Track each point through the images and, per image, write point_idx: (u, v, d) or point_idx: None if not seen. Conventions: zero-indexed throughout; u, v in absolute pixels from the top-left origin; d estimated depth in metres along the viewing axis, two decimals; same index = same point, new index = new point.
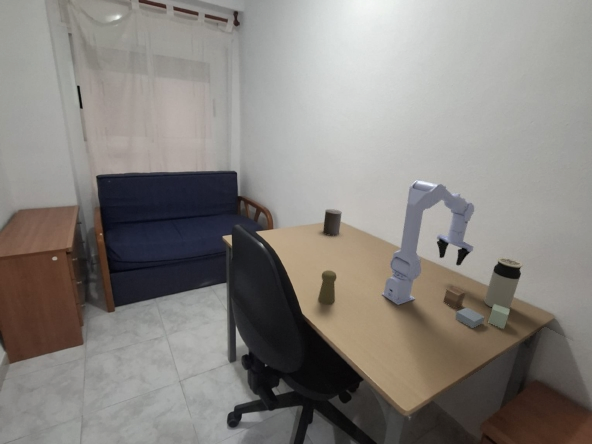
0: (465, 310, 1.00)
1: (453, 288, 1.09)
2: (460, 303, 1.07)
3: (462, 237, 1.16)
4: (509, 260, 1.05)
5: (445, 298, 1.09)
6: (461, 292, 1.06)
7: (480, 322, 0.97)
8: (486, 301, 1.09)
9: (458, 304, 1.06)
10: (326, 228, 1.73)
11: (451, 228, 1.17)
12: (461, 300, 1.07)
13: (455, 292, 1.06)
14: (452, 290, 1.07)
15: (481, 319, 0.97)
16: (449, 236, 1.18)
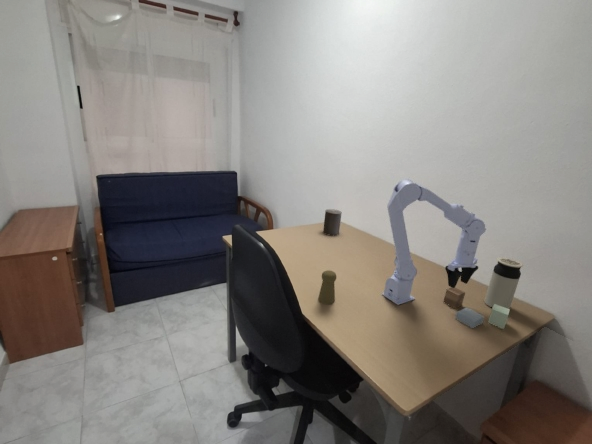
0: (465, 310, 1.00)
1: (453, 288, 1.09)
2: (460, 303, 1.07)
3: (460, 256, 1.02)
4: (509, 260, 1.05)
5: (445, 298, 1.09)
6: (461, 292, 1.06)
7: (480, 322, 0.97)
8: (486, 301, 1.09)
9: (458, 304, 1.06)
10: (326, 228, 1.73)
11: (458, 246, 1.03)
12: (461, 300, 1.07)
13: (455, 292, 1.06)
14: (452, 290, 1.07)
15: (481, 319, 0.97)
16: None
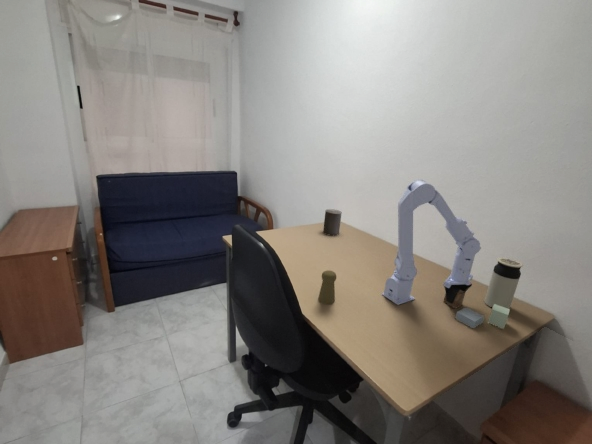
0: (465, 310, 1.00)
1: None
2: (460, 303, 1.07)
3: (455, 273, 1.04)
4: (509, 260, 1.05)
5: (445, 298, 1.09)
6: (461, 292, 1.06)
7: (480, 322, 0.97)
8: (486, 301, 1.09)
9: (458, 304, 1.06)
10: (326, 228, 1.73)
11: None
12: (461, 300, 1.07)
13: None
14: None
15: (481, 319, 0.97)
16: None
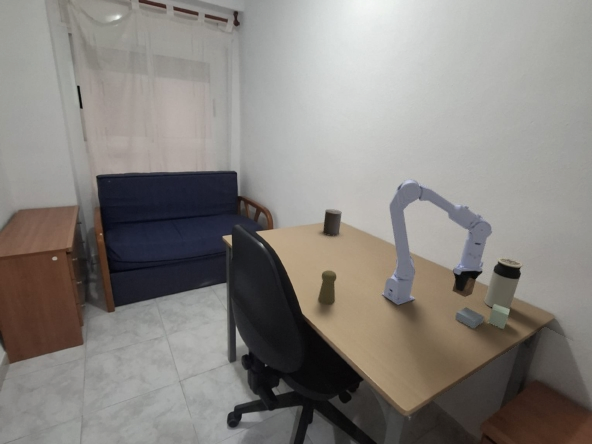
0: (465, 310, 1.00)
1: None
2: (470, 291, 1.02)
3: (466, 259, 0.98)
4: (509, 260, 1.05)
5: (454, 286, 1.03)
6: (471, 280, 1.01)
7: (480, 322, 0.97)
8: (486, 301, 1.09)
9: (468, 292, 1.01)
10: (326, 228, 1.73)
11: None
12: (471, 288, 1.01)
13: None
14: None
15: (481, 319, 0.97)
16: None
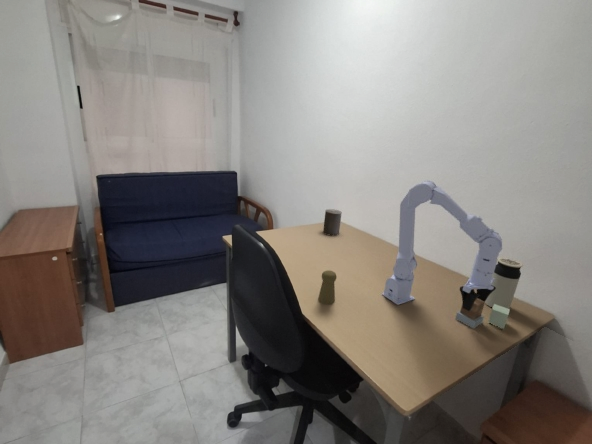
0: None
1: None
2: (479, 314, 0.96)
3: (476, 276, 0.93)
4: (509, 260, 1.05)
5: (462, 308, 0.98)
6: (480, 301, 0.96)
7: (480, 322, 0.97)
8: (486, 301, 1.09)
9: (477, 315, 0.96)
10: (326, 228, 1.73)
11: None
12: (480, 310, 0.96)
13: None
14: None
15: (481, 319, 0.97)
16: None
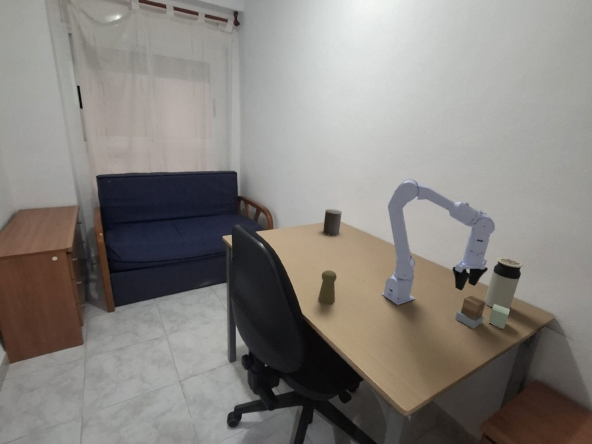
0: None
1: (472, 297, 0.98)
2: (480, 314, 0.96)
3: (468, 257, 0.96)
4: (509, 260, 1.05)
5: (463, 308, 0.98)
6: (481, 302, 0.95)
7: (480, 322, 0.97)
8: (486, 301, 1.09)
9: (478, 315, 0.96)
10: (326, 228, 1.73)
11: None
12: (481, 310, 0.96)
13: (475, 302, 0.95)
14: (471, 299, 0.97)
15: (481, 319, 0.97)
16: None
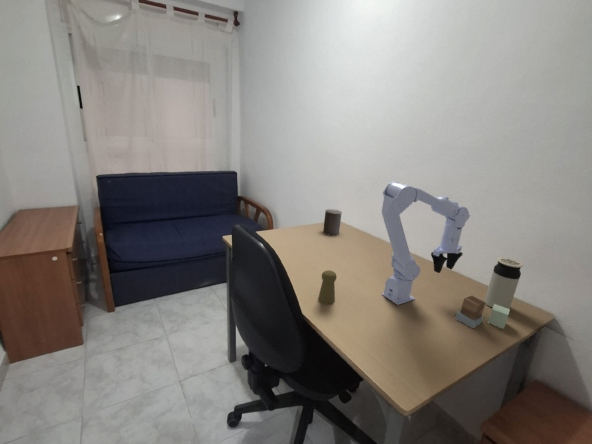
0: None
1: (472, 297, 0.98)
2: (479, 314, 0.96)
3: (444, 242, 1.07)
4: (509, 260, 1.05)
5: (462, 308, 0.98)
6: (481, 302, 0.95)
7: (480, 321, 0.97)
8: (486, 301, 1.09)
9: (477, 315, 0.96)
10: (326, 228, 1.73)
11: (443, 234, 1.08)
12: (481, 311, 0.96)
13: (474, 302, 0.95)
14: (470, 299, 0.96)
15: (481, 318, 0.97)
16: None
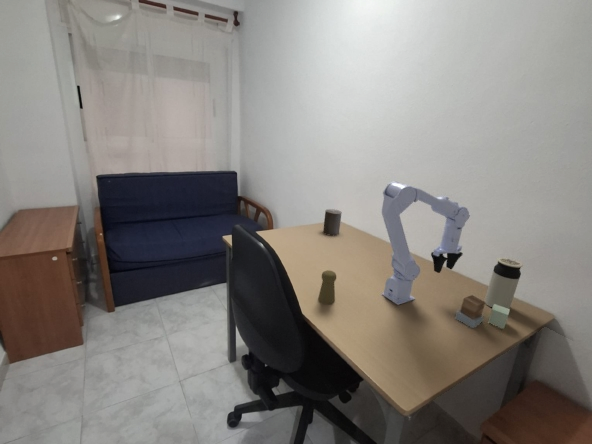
0: None
1: (471, 297, 0.98)
2: (479, 314, 0.96)
3: (444, 242, 1.07)
4: (509, 260, 1.05)
5: (462, 308, 0.98)
6: (481, 301, 0.96)
7: (480, 321, 0.97)
8: (486, 301, 1.09)
9: (477, 315, 0.96)
10: (326, 228, 1.73)
11: (443, 234, 1.08)
12: (480, 310, 0.96)
13: (474, 301, 0.95)
14: (470, 299, 0.97)
15: (481, 318, 0.97)
16: None
